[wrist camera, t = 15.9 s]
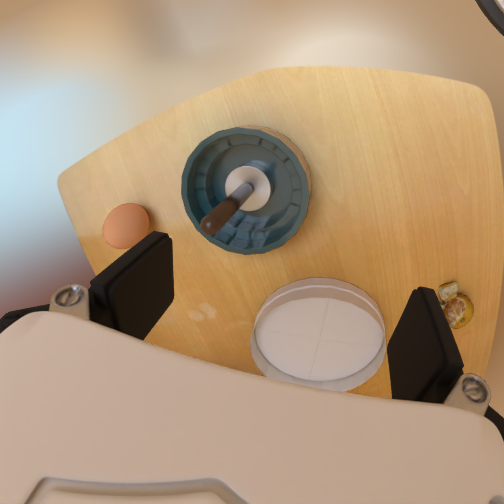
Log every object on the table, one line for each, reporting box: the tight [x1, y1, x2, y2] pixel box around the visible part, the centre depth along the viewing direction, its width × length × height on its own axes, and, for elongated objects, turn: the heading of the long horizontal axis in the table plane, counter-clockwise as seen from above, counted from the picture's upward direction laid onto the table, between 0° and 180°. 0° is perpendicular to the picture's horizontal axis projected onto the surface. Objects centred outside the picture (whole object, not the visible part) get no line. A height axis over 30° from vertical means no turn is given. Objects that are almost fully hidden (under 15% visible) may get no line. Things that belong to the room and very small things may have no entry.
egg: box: [102, 203, 150, 249], centre depth 43 cm, size 7×7×9 cm
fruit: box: [438, 282, 474, 329], centre depth 38 cm, size 8×8×4 cm
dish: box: [250, 278, 386, 392], centre depth 46 cm, size 22×22×5 cm
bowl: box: [181, 125, 312, 255], centre depth 37 cm, size 16×16×6 cm
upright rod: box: [201, 163, 274, 235], centre depth 32 cm, size 6×6×16 cm
